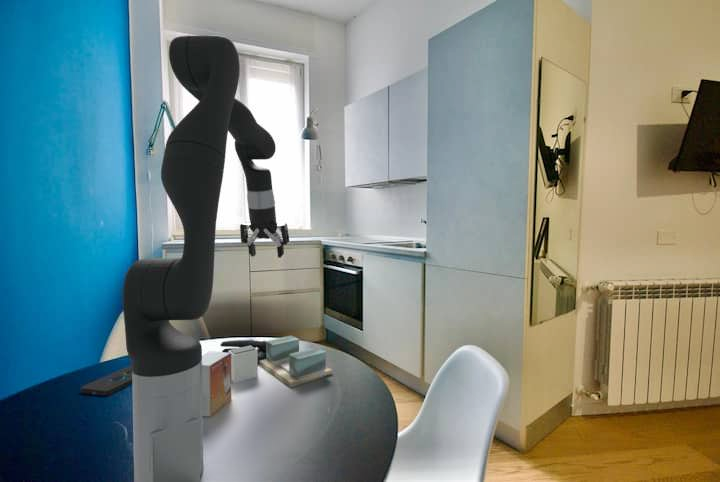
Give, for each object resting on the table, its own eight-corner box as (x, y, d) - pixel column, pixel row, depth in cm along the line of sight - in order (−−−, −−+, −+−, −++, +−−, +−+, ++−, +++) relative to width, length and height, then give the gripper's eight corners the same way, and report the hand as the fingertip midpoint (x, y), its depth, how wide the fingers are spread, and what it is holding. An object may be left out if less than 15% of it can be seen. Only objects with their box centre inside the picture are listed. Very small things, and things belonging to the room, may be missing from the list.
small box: (210, 418, 69) (209, 366, 69) (185, 415, 70) (184, 363, 70) (232, 398, 77) (232, 352, 77) (210, 396, 78) (209, 350, 78)
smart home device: (78, 387, 80) (149, 356, 99) (78, 394, 80) (149, 362, 100) (107, 390, 78) (173, 358, 98) (107, 398, 78) (174, 364, 98)
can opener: (276, 357, 102) (276, 339, 102) (260, 366, 96) (260, 346, 96) (230, 349, 110) (230, 331, 110) (213, 356, 103) (213, 338, 103)
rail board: (332, 374, 90) (331, 350, 90) (290, 387, 82) (290, 361, 82) (297, 354, 104) (297, 334, 104) (259, 364, 96) (259, 342, 96)
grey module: (257, 376, 89) (257, 348, 88) (234, 383, 85) (233, 353, 85) (251, 371, 92) (251, 344, 91) (228, 378, 88) (228, 349, 88)
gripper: (232, 207, 98) (239, 260, 103) (280, 208, 96) (285, 262, 102) (243, 201, 105) (249, 250, 110) (289, 202, 103) (293, 252, 109)
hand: (266, 256), depth 106 cm, fingers open, 8 cm apart
